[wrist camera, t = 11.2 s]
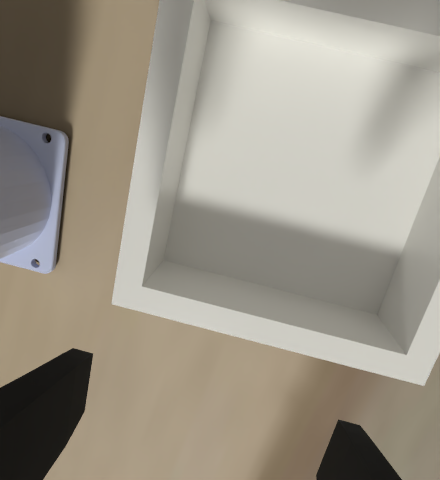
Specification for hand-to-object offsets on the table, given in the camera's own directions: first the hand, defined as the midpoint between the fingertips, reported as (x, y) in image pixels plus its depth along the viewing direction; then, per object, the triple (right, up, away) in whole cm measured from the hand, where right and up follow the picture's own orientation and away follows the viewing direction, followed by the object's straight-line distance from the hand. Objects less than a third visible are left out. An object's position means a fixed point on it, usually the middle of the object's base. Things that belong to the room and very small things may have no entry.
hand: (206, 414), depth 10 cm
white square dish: (+4, +8, +8) cm, 12 cm away
